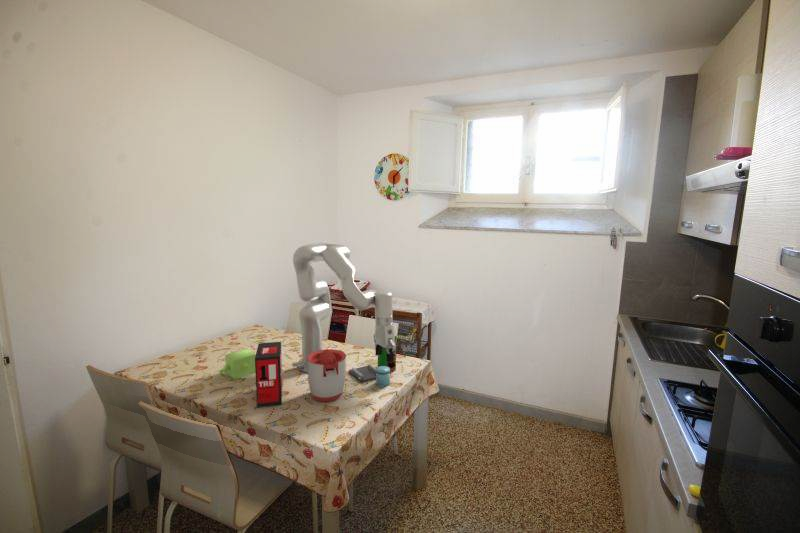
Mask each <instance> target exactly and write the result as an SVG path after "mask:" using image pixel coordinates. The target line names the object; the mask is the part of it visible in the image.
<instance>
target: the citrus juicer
mask: <svg viewBox="0 0 800 533" xmlns="http://www.w3.org/2000/svg"><path fill="white" fill-rule="evenodd" d="M346 358H347V354H346V352H344V351H342V350H339V349H332V348H331V349H330V348H326V349H322V350H319V351H315V352H313V353H311V354H309V355H308V357H307V360H308V373H307V378H308V379H307V380H308V386H309V390H310V394H311V396H312V398H313V399H314V400H315V401H318V402H332V401H335V400H337V399H339V398H340V397H341V395H342V394H343V391H344V388H345V382H346V375H347V374H346V373H347V372H346Z"/></svg>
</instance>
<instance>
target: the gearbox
mask: <svg viewBox="0 0 800 533" xmlns="http://www.w3.org/2000/svg"><path fill="white" fill-rule="evenodd" d="M255 356H256V353H255V352H253V351H252V350H251V349H249V348H245V349H242V350H241V349H240V350H237V351H233V352H231V353H228V354H225V355H224V357H225V359H224V360H225V366H224V367H222V368H221V369H220V370H219V372H220V374H223V375H224V374H225V373H226V374H227V375H228V376H229V377H231V378H232V379H233V380H236V379H239V378H242V377H245V376H249V375H251V374H255V373H256V372H255Z"/></svg>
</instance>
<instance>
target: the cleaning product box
mask: <svg viewBox="0 0 800 533" xmlns="http://www.w3.org/2000/svg"><path fill="white" fill-rule="evenodd" d="M255 355H256V356H255V372H254V373H255V389H256V390H255V392H256V408H257V409H261V408H266V407H267V408H268V407H275V406H282V399H283V363H282V362H283V361H282V341H271V342H260V343H258V344H257V349H256V353H255Z"/></svg>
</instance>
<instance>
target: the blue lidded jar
mask: <svg viewBox="0 0 800 533" xmlns="http://www.w3.org/2000/svg"><path fill="white" fill-rule="evenodd" d="M375 368H376V379H375V385H376V386H377V387H380V388H386V387H389V386H390V382H391V381H390V380H391V373H390V368H389V367H387V366H379V367H377V366H376V367H375Z"/></svg>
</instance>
